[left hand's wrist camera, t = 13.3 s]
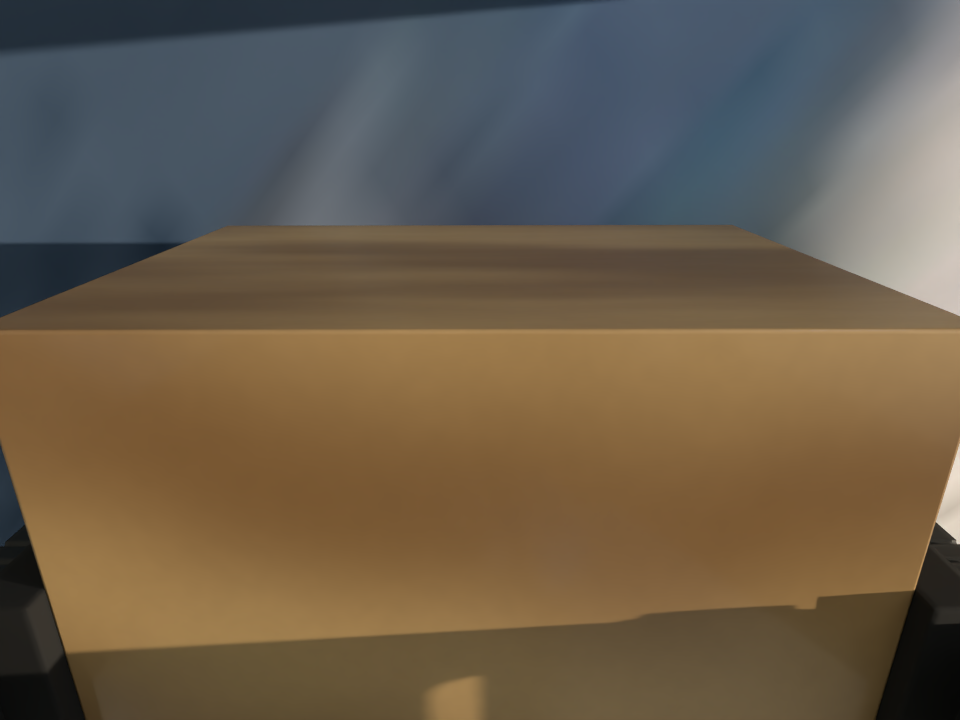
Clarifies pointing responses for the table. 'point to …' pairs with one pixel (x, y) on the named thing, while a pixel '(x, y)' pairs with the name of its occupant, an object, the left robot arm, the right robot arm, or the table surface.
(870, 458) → the wide beam
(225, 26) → the table surface
